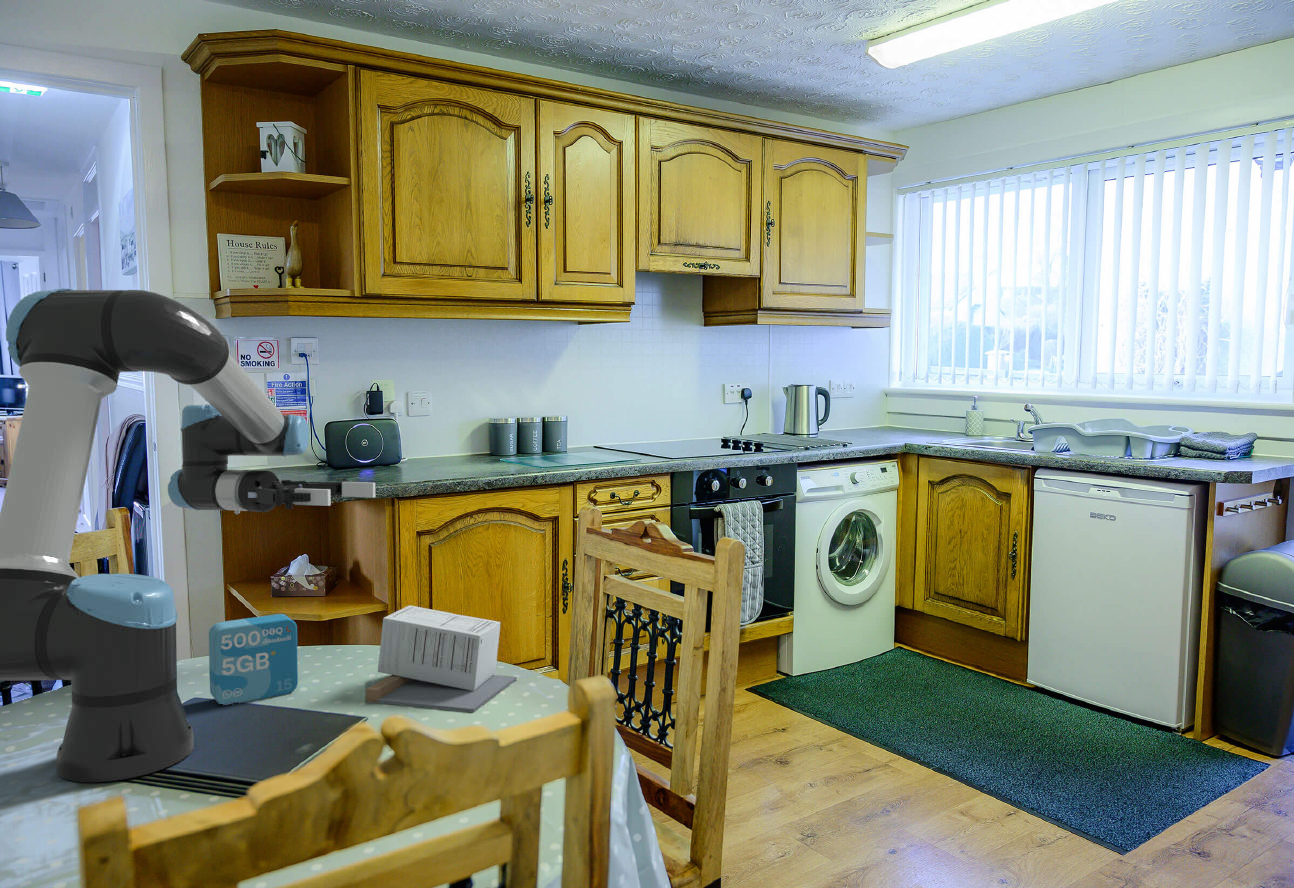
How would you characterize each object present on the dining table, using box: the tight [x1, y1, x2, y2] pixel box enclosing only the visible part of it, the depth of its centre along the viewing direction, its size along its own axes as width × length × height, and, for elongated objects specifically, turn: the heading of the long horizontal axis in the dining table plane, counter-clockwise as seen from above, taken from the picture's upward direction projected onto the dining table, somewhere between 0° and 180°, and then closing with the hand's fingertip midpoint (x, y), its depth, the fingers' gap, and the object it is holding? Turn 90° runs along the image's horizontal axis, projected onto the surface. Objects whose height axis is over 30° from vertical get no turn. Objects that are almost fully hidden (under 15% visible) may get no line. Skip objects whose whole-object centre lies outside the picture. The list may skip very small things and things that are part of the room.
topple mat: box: [365, 674, 517, 713], centre depth 140 cm, size 18×16×2 cm
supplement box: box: [377, 605, 501, 691], centre depth 143 cm, size 10×9×17 cm
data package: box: [208, 613, 299, 705], centre depth 137 cm, size 12×4×12 cm, turn 127°
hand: (352, 493), depth 154 cm, fingers open, 13 cm apart
